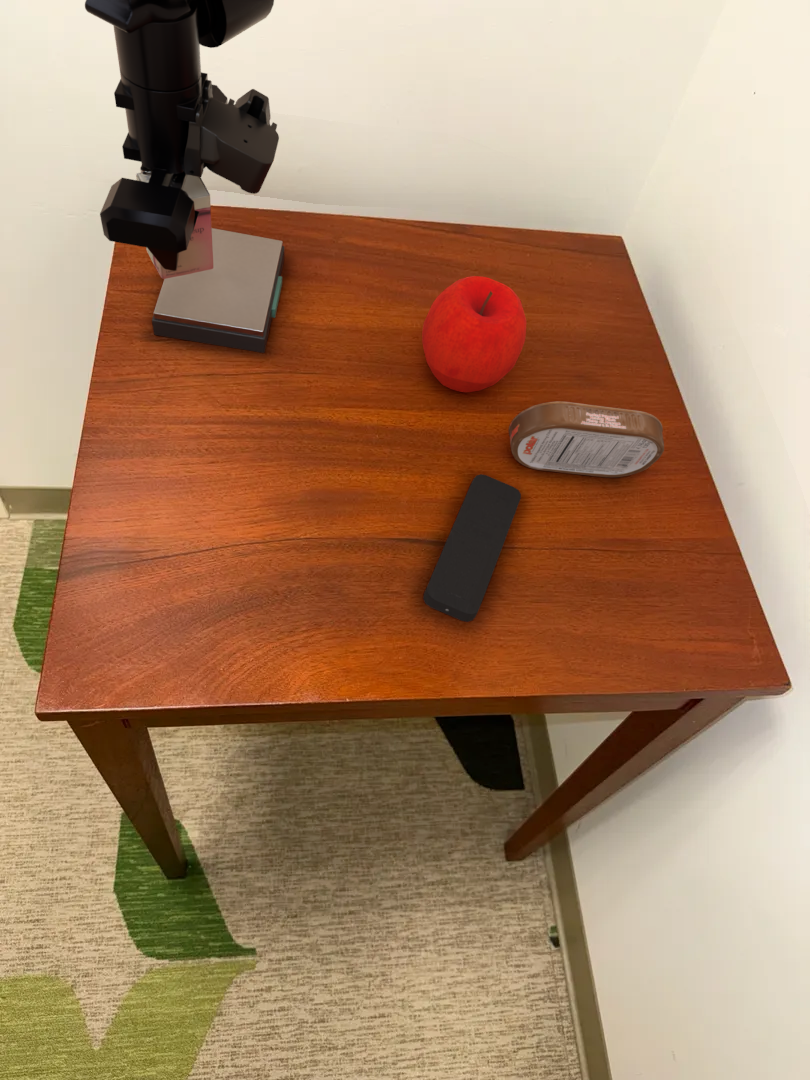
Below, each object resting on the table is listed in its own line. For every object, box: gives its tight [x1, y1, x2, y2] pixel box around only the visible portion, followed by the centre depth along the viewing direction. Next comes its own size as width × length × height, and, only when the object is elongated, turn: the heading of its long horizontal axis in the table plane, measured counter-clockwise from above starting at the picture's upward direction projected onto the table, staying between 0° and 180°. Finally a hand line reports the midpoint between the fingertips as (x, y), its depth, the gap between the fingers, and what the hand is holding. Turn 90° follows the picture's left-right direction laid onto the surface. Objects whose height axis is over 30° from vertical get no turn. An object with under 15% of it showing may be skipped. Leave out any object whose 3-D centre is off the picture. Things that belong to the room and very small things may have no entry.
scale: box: [151, 227, 285, 354], centre depth 79 cm, size 11×14×3 cm
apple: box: [421, 275, 528, 393], centre depth 75 cm, size 10×10×12 cm
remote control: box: [422, 474, 522, 623], centre depth 70 cm, size 5×2×15 cm
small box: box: [135, 172, 213, 280], centre depth 67 cm, size 5×4×8 cm
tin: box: [508, 400, 665, 479], centre depth 73 cm, size 15×3×8 cm, turn 90°
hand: (178, 246), depth 69 cm, fingers closed on small box, 6 cm apart
